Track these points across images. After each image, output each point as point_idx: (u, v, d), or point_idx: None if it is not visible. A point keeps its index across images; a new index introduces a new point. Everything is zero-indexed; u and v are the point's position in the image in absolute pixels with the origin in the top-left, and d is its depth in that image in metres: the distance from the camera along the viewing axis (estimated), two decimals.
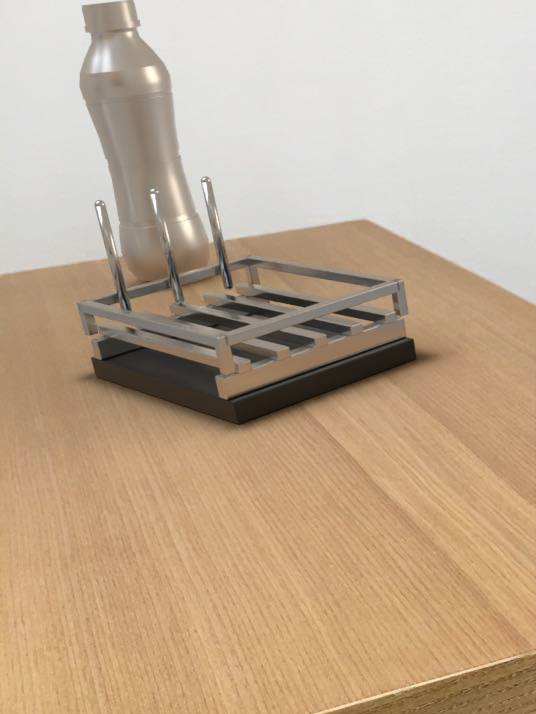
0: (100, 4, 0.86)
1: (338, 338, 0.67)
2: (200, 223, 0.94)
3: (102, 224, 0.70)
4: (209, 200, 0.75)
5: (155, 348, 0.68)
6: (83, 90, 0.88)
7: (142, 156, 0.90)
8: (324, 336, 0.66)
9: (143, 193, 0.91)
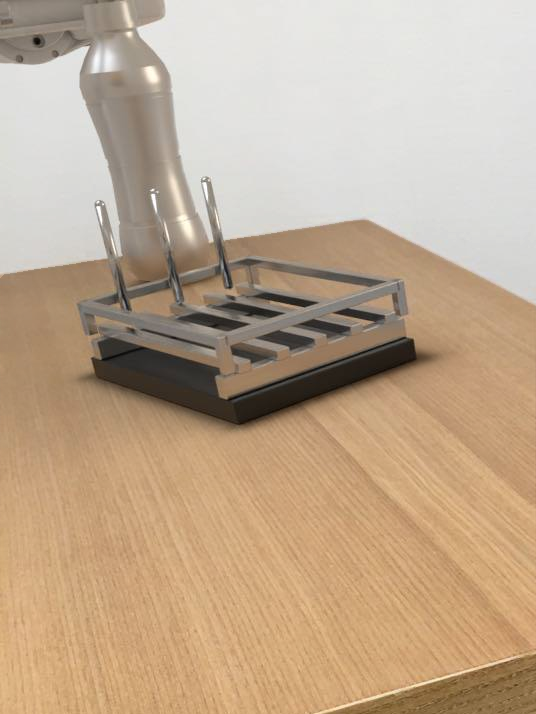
0: (100, 4, 0.86)
1: (338, 338, 0.67)
2: (200, 223, 0.94)
3: (102, 224, 0.70)
4: (209, 200, 0.75)
5: (155, 348, 0.68)
6: (83, 90, 0.88)
7: (142, 156, 0.90)
8: (324, 336, 0.66)
9: (143, 193, 0.91)
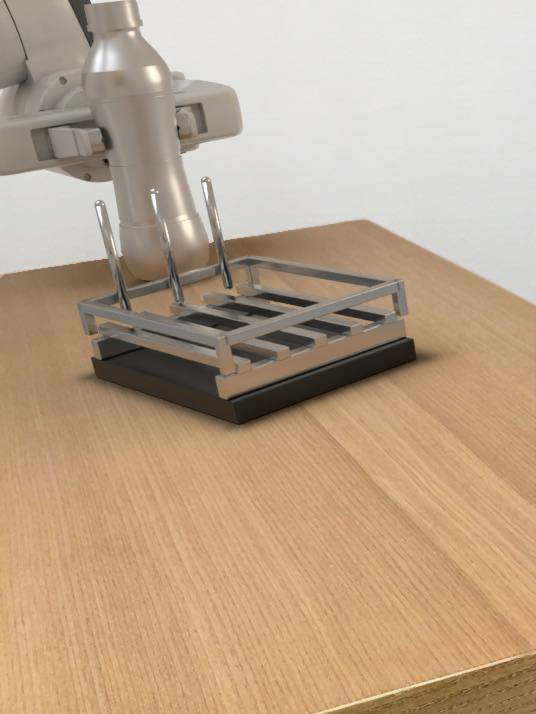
0: (103, 3, 0.86)
1: (338, 338, 0.67)
2: (200, 223, 0.94)
3: (102, 224, 0.70)
4: (209, 200, 0.75)
5: (155, 348, 0.68)
6: (85, 89, 0.88)
7: (143, 155, 0.90)
8: (324, 336, 0.66)
9: (144, 192, 0.91)
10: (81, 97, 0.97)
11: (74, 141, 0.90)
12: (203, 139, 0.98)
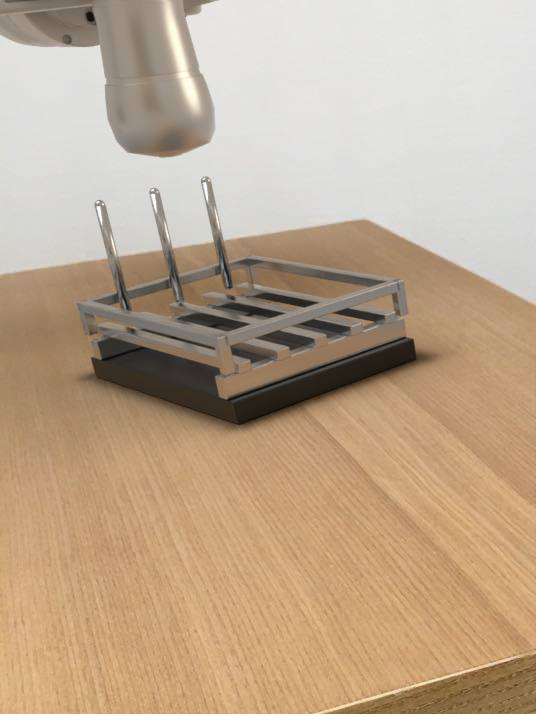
0: None
1: (338, 338, 0.67)
2: (205, 84, 0.77)
3: (102, 224, 0.70)
4: (209, 200, 0.75)
5: (155, 348, 0.68)
6: None
7: None
8: (324, 336, 0.66)
9: (135, 40, 0.74)
10: None
11: None
12: None
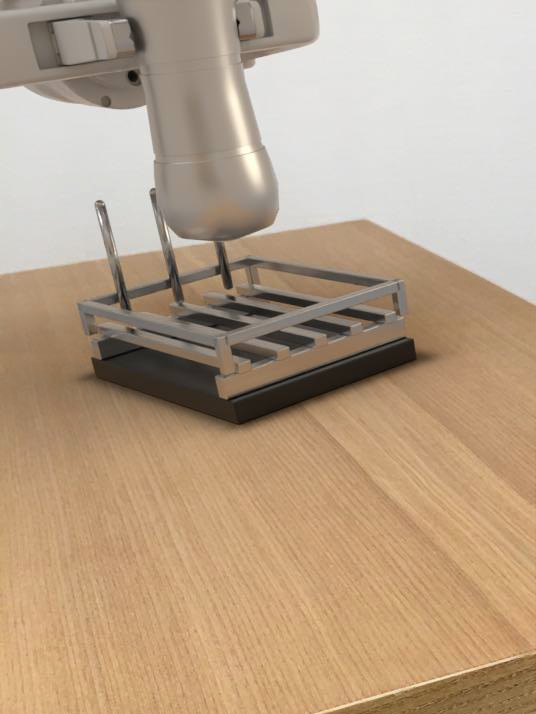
0: None
1: (338, 338, 0.67)
2: (268, 159, 0.67)
3: (102, 224, 0.70)
4: None
5: (155, 348, 0.68)
6: None
7: (190, 58, 0.62)
8: (324, 336, 0.66)
9: (190, 112, 0.63)
10: None
11: (90, 38, 0.63)
12: (267, 46, 0.71)
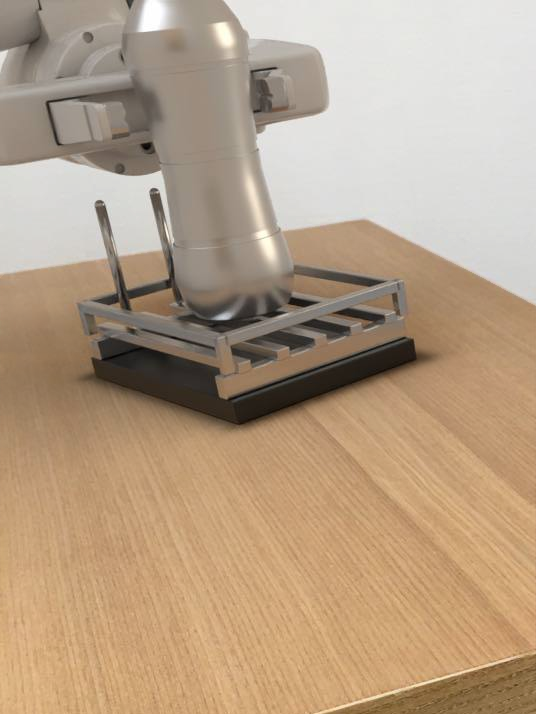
0: None
1: (338, 338, 0.67)
2: (284, 241, 0.69)
3: (102, 224, 0.70)
4: None
5: (155, 348, 0.68)
6: (127, 56, 0.63)
7: (209, 149, 0.64)
8: (324, 336, 0.66)
9: (209, 200, 0.65)
10: (113, 59, 0.71)
11: (86, 120, 0.64)
12: (278, 117, 0.72)
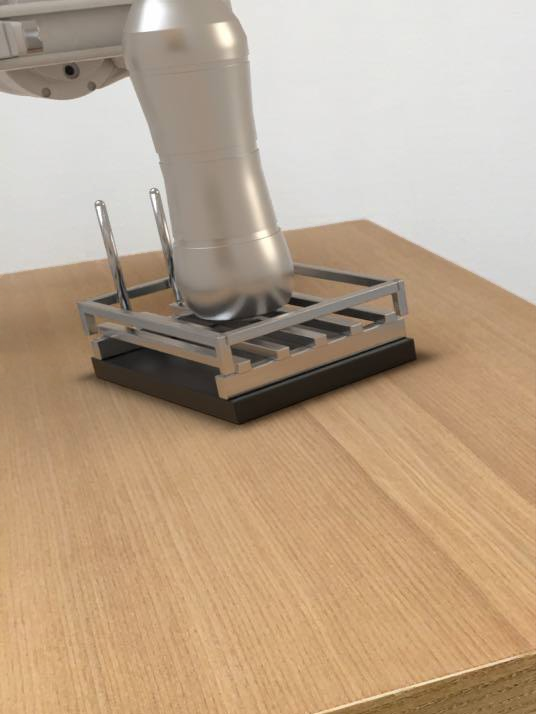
0: None
1: (338, 338, 0.67)
2: (284, 241, 0.69)
3: (102, 224, 0.70)
4: None
5: (155, 348, 0.68)
6: (127, 56, 0.63)
7: (209, 149, 0.64)
8: (324, 336, 0.66)
9: (209, 200, 0.65)
10: None
11: (5, 37, 0.72)
12: None
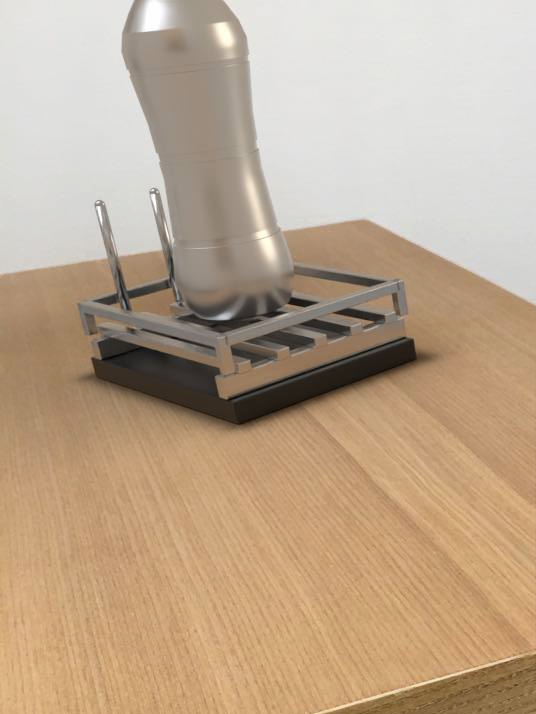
0: None
1: (338, 338, 0.67)
2: (284, 241, 0.69)
3: (102, 224, 0.70)
4: None
5: (155, 348, 0.68)
6: (127, 56, 0.63)
7: (209, 149, 0.64)
8: (324, 336, 0.66)
9: (209, 200, 0.65)
10: None
11: None
12: None
